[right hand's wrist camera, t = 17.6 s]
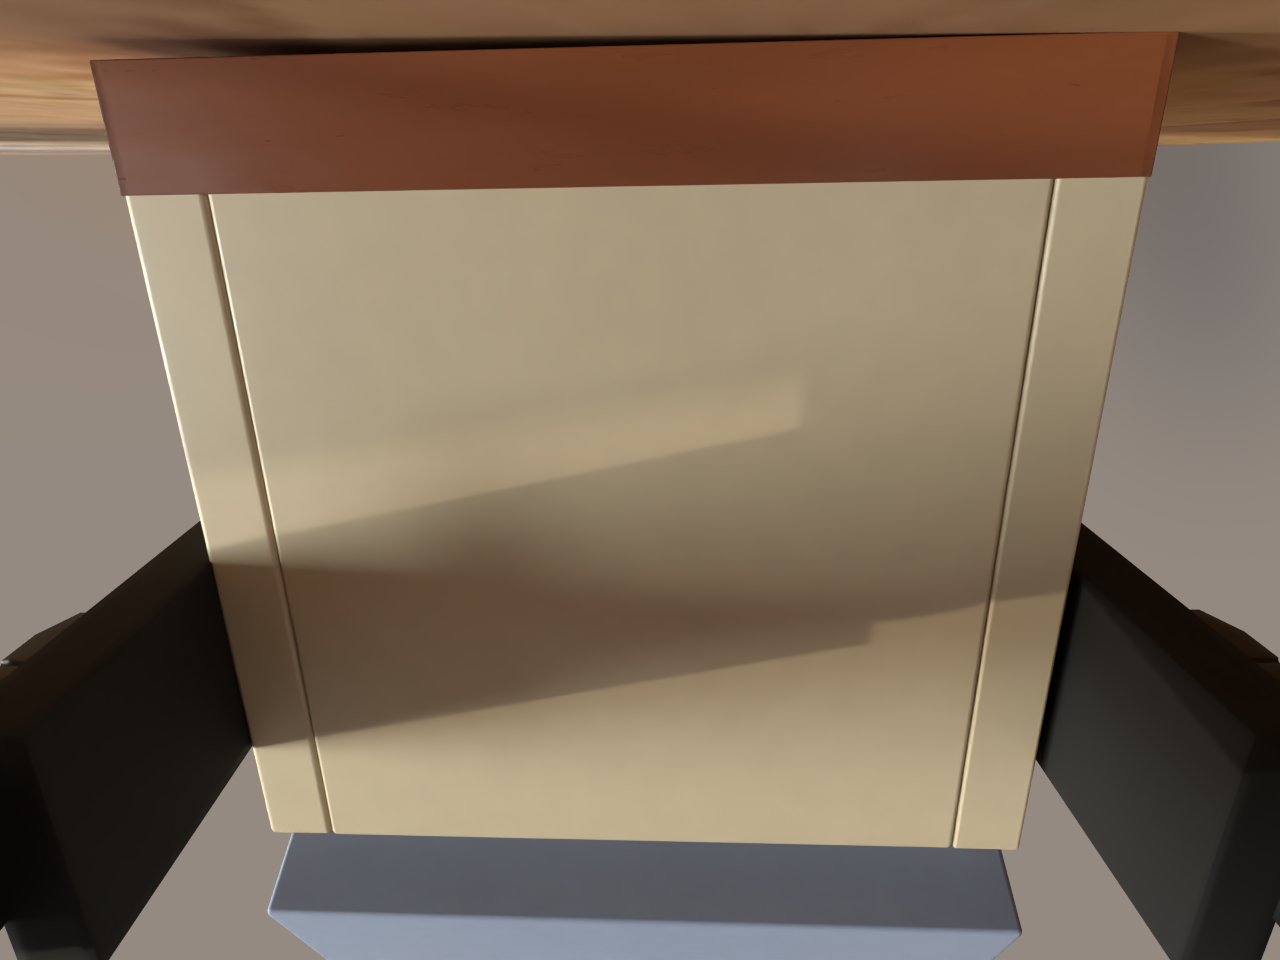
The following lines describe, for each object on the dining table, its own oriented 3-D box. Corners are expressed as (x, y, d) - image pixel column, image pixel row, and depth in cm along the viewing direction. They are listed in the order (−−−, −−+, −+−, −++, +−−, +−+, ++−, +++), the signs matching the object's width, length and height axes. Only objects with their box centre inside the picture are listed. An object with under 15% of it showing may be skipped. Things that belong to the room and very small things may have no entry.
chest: (841, 125, 22) (820, 450, 26) (481, 133, 23) (507, 451, 26) (1180, 29, 7) (1020, 852, 11) (88, 59, 8) (268, 834, 11)
